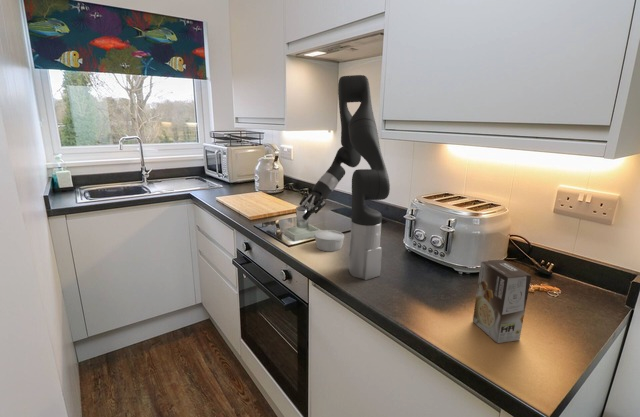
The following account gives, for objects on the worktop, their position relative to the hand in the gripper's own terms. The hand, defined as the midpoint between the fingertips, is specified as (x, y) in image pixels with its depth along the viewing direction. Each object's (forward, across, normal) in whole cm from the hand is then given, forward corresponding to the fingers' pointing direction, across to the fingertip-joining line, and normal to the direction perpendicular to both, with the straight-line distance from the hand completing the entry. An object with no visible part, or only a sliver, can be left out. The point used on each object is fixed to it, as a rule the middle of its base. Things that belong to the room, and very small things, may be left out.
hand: (300, 217), depth 141 cm
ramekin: (+4, +17, +8) cm, 19 cm away
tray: (+5, 0, +6) cm, 8 cm away
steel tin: (+2, 0, +4) cm, 4 cm away
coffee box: (+1, +81, +10) cm, 82 cm away
